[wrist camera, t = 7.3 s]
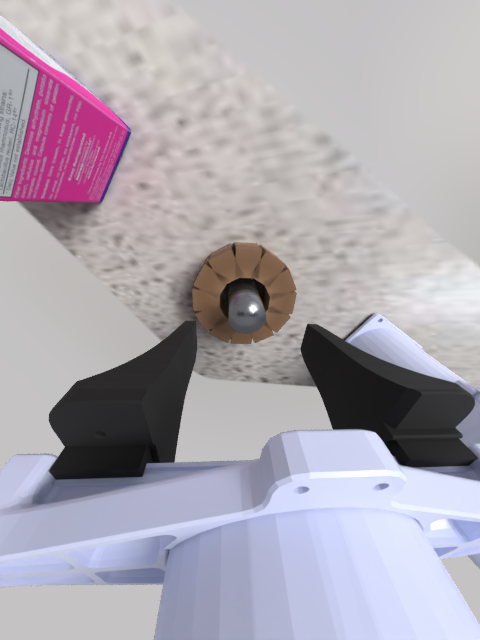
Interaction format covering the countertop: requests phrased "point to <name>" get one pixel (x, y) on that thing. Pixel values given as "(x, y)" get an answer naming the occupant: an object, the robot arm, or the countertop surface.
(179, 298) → the countertop surface
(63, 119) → the supplement box
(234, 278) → the walnut bead
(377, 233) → the countertop surface
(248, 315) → the metal peg
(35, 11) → the countertop surface
